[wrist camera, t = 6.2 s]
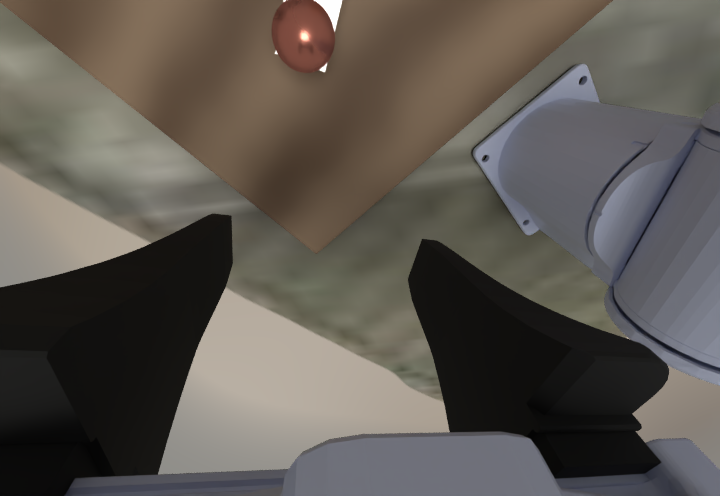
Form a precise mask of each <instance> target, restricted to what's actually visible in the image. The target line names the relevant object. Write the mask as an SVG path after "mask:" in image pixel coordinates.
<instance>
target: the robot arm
mask: <svg viewBox="0 0 720 496" xmlns="http://www.w3.org/2000/svg"><path fill="white" fill-rule="evenodd" d="M581 77H583V79H582V82H581V83H580V84H579V80H580V78H581ZM484 155H487V157H486V159H485V160H483V161H482V157H483V156H484ZM473 156H474V158H475V160H476V161H477V163H478V164H479V166H480V167H481V169H482V170H483V172H484V173H485V175H486V176H487V178H488V179H489V181H490V182H491V184H492V186H493V187H494V189H495V190H496V192H497V193H498V195H499V196H500V198H501V199H502V201H503V202H504V204H505V205H506V207H507V208H508V210H509V211H510V213H511V214H512V216H513V218H514V219H515V221H516V222H517V224H518V225H519V227H520V228H521V230H522V231H523V232H524V233H525V234H526V235H532V234H534V233H535V232H536V231H538V230H539V229H540V230H541V231H542V232H544V233H545V234H546V235H547V236H549V237H550V238H551V239H553V240H554V241H555V242H556V243H558V244H559V245H560V246H562V247H563V248H564V249H565V250H567V251H568V252H569V253H571V254H572V255H573V256H574V257H576V258H577V259H578V260H580V261H581V262H582V263H583V264H585V265H586V266H587V267H589V268H590V269H592V271H591V272H592V273H593V274H595V275H596V276H597V277H598V278H600V279H601V280H602V281H604V282H605V283H606V284H607V285H609V286H610V287H609V288H608V290H607V292H606V294H605V298H604V303H605V308H606V311H607V313H608V315H609V316H610V318H611V319H612V321H613V322H614V323H615V325H616V326H617V327H618V328H619V329H620V330H621V331H622V332H623V333H624V334H625V335H626V336H627V337H628V338H629V339H630V340H629V339H626V338H623V337H620V336H617V335H614V334H611V333H608V332H605V331H602V330H599V329H597V328H594V327H591V326H589V325H586V324H583V323H581V322H578V321H576V320H573V319H571V318H568V317H566V316H564V315H561V314H559V313H557V312H554V311H552V310H550V309H548V308H546V307H544V306H542V305H539V304H537V303H535V302H533V301H531V300H529V299H527V298H525V297H524V296H522V295H520V294H518V293H516V292H515V291H513V290H511V289H509V288H507V287H506V286H504V285H502V284H501V283H499V282H498V281H496V280H494V279H493V278H491V277H490V276H488V275H487V274H485V273H484V272H482V271H481V270H479V269H478V268H476V267H475V266H473V265H472V264H471V263H469V262H468V261H466V260H465V259H464V258H462V257H461V256H459V255H458V254H457V253H455V252H454V251H452V250H451V249H449V248H448V247H446V246H445V245H443V244H442V243H440V242H438V241H435V240H427V239H422V241H421V244H420V247H419V249H418V252H417V255H416V258H415V261H414V263H413V266H412V269H411V272H410V275H409V278H408V282H409V288H410V293H411V297H412V301H413V304H414V307H415V309H416V312H417V315H418V318H419V320H420V323H421V325H422V328H423V331H424V333H425V336H426V339H427V341H428V344H429V346H430V349H431V352H432V356H433V359H434V363H435V367H436V370H437V374H438V378H439V382H440V387H441V391H442V396H443V400H444V404H445V409H446V414H447V420H448V425H449V430H450V432H449V433H397V434H361V435H355V436H348V437H341V438H334V439H329V440H327V441H325V442H323V443H320V444H318V445H316V446H314V447H312V448H310V449H308V450H306V451H304V452H302V453H301V455H300V456H298V457H297V459H296V460H295V462H294V463H293V464H292V465H291V467H290V468H289V469H283V470H259V471H258V470H257V471H234V472H211V473H210V472H209V473H186V474H185V473H184V474H161V475H158V472H159V468H160V465H161V461H162V457H163V454H164V450H165V447H166V443H167V439H168V437H169V433H170V430H171V427H172V423H173V420H174V417H175V413H176V410H177V407H178V404H179V400H180V397H181V394H182V391H183V388H184V385H185V382H186V379H187V376H188V373H189V370H190V367H191V364H192V361H193V358H194V356H195V352H196V350H197V347H198V344H199V342H200V340H201V338H202V336H203V333H204V331H205V329H206V327H207V325H208V323H209V321H210V318H211V317H212V315H213V312H214V310H215V308H216V306H217V304H218V302H219V300H220V298H221V295H222V293H223V291H224V289H225V287H226V284H227V281H228V278H229V274H230V271H231V267H232V264H233V256H232V220H231V216H229V215H221V214H211V215H208V216H206V217H204V218H202V219H200V220H198V221H196V222H194V223H192V224H191V225H189V226H187V227H185V228H183V229H181V230H179V231H177V232H175V233H173V234H171V235H169V236H167V237H164V238H162V239H160V240H158V241H156V242H153V243H151V244H149V245H147V246H145V247H143V248H140V249H137V250H135V251H132V252H130V253H127V254H124V255H121V256H119V257H116V258H113V259H110V260H107V261H104V262H101V263H98V264H94V265H91V266H87V267H84V268H80V269H77V270H73V271H70V272H66V273H63V274H59V275H55V276H51V277H47V278H42V279H38V280H34V281H29V282H25V283H20V284H15V285H10V286H5V287H0V496H720V470H719V469H718V468H717V467H716V465H714V463H713V462H712V461H711V460H710V459H709V458H708V457H707V456H706V455H705V454H704V453H703V452H702V451H701V450H700V449H699V448H698V447H697V446H696V445H695V444H694V443H693V442H692V441H691V440H689V439H686V438H678V439H677V438H676V439H656V440H652V441H649V442H646V443H645V442H644V441H643V440H642V439H641V437H640V436H639V435H638V434H637V433H636V431H639V430H640V429H641V428H642V427H641V424H640V423H639V422H638V420H637V419H636V418H635V417H634V416H633V415H632V413H633V412H635V411H636V410H637V409H638V408H639V407H640V406H642V405H643V404H644V403H645V402H647V401H648V400H649V399H650V398H651V397H653V396H654V395H655V394H656V393H657V392H658V391H659V390H660V389H661V388H662V387H663V386H664V384H665V383H666V381H667V380H668V375H669V368H668V366H670V367H672V368H675V369H676V370H679V371H681V372H683V373H686V374H688V375H690V376H693V377H696V378H698V379H701V380H704V381H707V382H710V383H713V384H716V385H719V386H720V102H719V103H715V104H713V105H711V106H710V107H709V108H708V109H707V110H706V112H705V114H704V116H703V118H702V119H699V118H693V117H687V116H680V115H674V114H668V113H661V112H655V111H649V110H642V109H636V108H630V107H623V106H617V105H611V104H604V103H600V101H599V98H598V95H597V92H596V89H595V87H594V84H593V81H592V78H591V75H590V72H589V69H588V67H587V65H585V64H577V65H575V66H574V67H572V68H571V69H570V70H569V71H568V72H566V73H565V74H564V75H563V76H561V77H560V78H559V79H558V80H557V81H555V82H554V83H553V84H552V85H551V86H549V87H548V88H547V89H546V90H544V91H543V92H542V93H541V94H540V95H538V96H537V97H536V98H535V99H534V100H532V101H531V102H530V103H529V104H527V105H526V106H525V107H524V108H523V109H521V110H520V111H519V112H518V113H516V114H515V115H514V116H513V117H512V118H510V119H509V120H508V121H507V122H506V123H504V124H503V125H502V126H501V127H499V128H498V129H497V130H496V131H495V132H493V133H492V134H491V135H490V136H488V137H487V138H486V139H485V140H484V141H482V142H481V143H480V144H479V145H478V146H476V147H475V149H474V151H473ZM525 220H526V222H524V221H525ZM523 222H524V223H523ZM667 365H668V366H667Z"/></svg>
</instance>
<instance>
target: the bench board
mask: <svg viewBox="0 0 720 496" xmlns="http://www.w3.org/2000/svg"><path fill="white" fill-rule="evenodd" d="M612 1H613V0H342V2H341V7H340V11H339V15H338V19H337V24H336V28H335V46H334V50H333V53H332V56H331V58H330V60H329V61H328V62H327V66H326V70H325V72H323V71H320V70H318V71H315V72H312V73H301V72H298V71H295V70H293V69H291V68H290V67H288V66H287V65H286V64H285V63H284V62H283V61H282V60H281V58H280V57H279V55H278V54H275V52H276V50H275V47H274V44H273V40H272V31H271V29H272V21H273V17H274V15H275V13H276V11H277V9H278V8H279V6H280V5H281V4H282V3H283V2H284V0H0V3H2V4H3V5H4V6H5V7H7V8H8V9H9V10H10V11H12V12H13V13H14V14H15V15H17V16H18V17H19V18H20V19H22V20H23V21H24V22H25V23H27V24H28V25H29V26H31V27H32V28H33V29H34V30H36V31H37V32H38V33H39V34H41V35H42V36H43V37H44V38H46V39H47V40H48V41H49V42H51V43H52V44H53V45H54V46H56V47H57V48H58V49H59V50H61V51H62V52H63V53H64V54H66V55H67V56H68V57H69V58H71V59H72V60H73V61H74V62H76V63H77V64H78V65H79V66H81V67H82V68H83V69H85V70H86V71H87V72H88V73H90V74H91V75H92V76H93V77H95V78H96V79H97V80H98V81H100V82H101V83H102V84H103V85H105V86H106V87H107V88H108V89H110V90H111V91H112V92H113V93H115V94H116V95H117V96H118V97H120V98H121V99H122V100H123V101H125V102H126V103H127V104H128V105H130V106H131V107H132V108H133V109H135V110H136V111H137V112H139V113H140V114H141V115H142V116H144V117H145V118H146V119H147V120H149V121H150V122H151V123H152V124H154V125H155V126H156V127H157V128H159V129H160V130H161V131H162V132H164V133H165V134H166V135H167V136H169V137H170V138H171V139H172V140H174V141H175V142H176V143H177V144H179V145H180V146H181V147H182V148H184V149H185V150H186V151H188V152H189V153H190V154H191V155H193V156H194V157H195V158H196V159H198V160H199V161H200V162H201V163H203V164H204V165H205V166H206V167H208V168H209V169H210V170H211V171H213V172H214V173H215V174H216V175H218V176H219V177H220V178H221V179H223V180H224V181H225V182H226V183H228V184H229V185H230V186H231V187H233V188H234V189H235V190H236V191H238V192H239V193H240V194H242V195H243V196H244V197H245V198H247V199H248V200H249V201H250V202H252V203H253V204H254V205H255V206H257V207H258V208H259V209H260V210H262V211H263V212H264V213H265V214H267V215H268V216H269V217H270V218H272V219H273V220H274V221H275V222H277V223H278V224H279V225H280V226H282V227H283V228H284V229H285V230H287V231H288V232H289V233H290V234H292V235H293V236H294V237H296V238H297V239H298V240H299V241H301V242H302V243H303V244H304V245H306V246H307V247H308V248H309V249H311V250H312V251H313V252H314V253H316V254H317V253H318V252H319V251H320V250H322V249H323V248H324V247H325V246H326V245H327V244H329V243H330V242H331V241H332V240H333V239H334V238H336V237H337V236H338V235H339V234H340V233H342V232H343V231H344V230H345V229H346V228H347V227H349V226H350V225H351V224H352V223H353V222H354V221H356V220H357V219H358V218H359V217H360V216H361V215H363V214H364V213H365V212H366V211H367V210H368V209H370V208H371V207H372V206H373V205H374V204H375V203H377V202H378V201H379V200H380V199H381V198H382V197H384V196H385V195H386V194H387V193H388V192H389V191H391V190H392V189H393V188H394V187H395V186H396V185H398V184H399V183H400V182H401V181H402V180H403V179H405V178H406V177H407V176H408V175H409V174H411V173H412V172H413V171H414V170H415V169H416V168H418V167H419V166H420V165H421V164H422V163H423V162H425V161H426V160H427V159H428V158H429V157H430V156H432V155H433V154H434V153H435V152H436V151H437V150H439V149H440V148H441V147H442V146H443V145H444V144H446V143H447V142H448V141H449V140H450V139H451V138H453V137H454V136H455V135H456V134H457V133H458V132H460V131H461V130H462V129H463V128H464V127H465V126H467V125H468V124H469V123H470V122H471V121H472V120H474V119H475V118H476V117H477V116H478V115H479V114H481V113H482V112H483V111H484V110H485V109H487V108H488V107H489V106H490V105H491V104H492V103H494V102H495V101H496V100H497V99H498V98H499V97H501V96H502V95H503V94H504V93H505V92H506V91H508V90H509V89H510V88H511V87H512V86H513V85H515V84H516V83H517V82H518V81H519V80H520V79H522V78H523V77H524V76H525V75H526V74H527V73H529V72H530V71H531V70H532V69H533V68H534V67H536V66H537V65H538V64H539V63H540V62H541V61H543V60H544V59H545V58H546V57H547V56H548V55H550V54H551V53H552V52H553V51H554V50H555V49H557V48H558V47H559V46H560V45H561V44H563V43H564V42H565V41H566V40H567V39H568V38H570V37H571V36H572V35H573V34H574V33H575V32H577V31H578V30H579V29H580V28H581V27H582V26H584V25H585V24H586V23H587V22H588V21H589V20H591V19H592V18H593V17H594V16H595V15H596V14H598V13H599V12H600V11H601V10H602V9H603V8H605V7H606V6H607V5H608V4H609V3H610V2H612Z"/></svg>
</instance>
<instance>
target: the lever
mask: <svg viewBox="0 0 720 496" xmlns="http://www.w3.org/2000/svg"><path fill="white" fill-rule="evenodd" d="M341 2H342V0H284V2H283V3H282V4H281V5H280V6H279V8H278V9H277V11H276V13H275V15H274V17H273V21H272V29H271V31H272V40H273V44H274V47H275V50H276V52H275V54H278V55H279V57H280V58H281V60H282V61H283V62H284V63H285V64H286V65H287V66H288V67H290V68H291V69H293V70H295V71H298V72H301V73H312V72H315V71H318V70H320V71H323V72H325V70H326V66H327V62H328V61H329V60H330V58H331V56H332V53H333V50H334V46H335V28H336V24H337V19H338V15H339V11H340V7H341Z"/></svg>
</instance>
